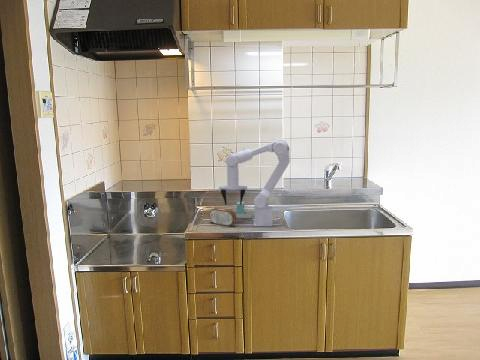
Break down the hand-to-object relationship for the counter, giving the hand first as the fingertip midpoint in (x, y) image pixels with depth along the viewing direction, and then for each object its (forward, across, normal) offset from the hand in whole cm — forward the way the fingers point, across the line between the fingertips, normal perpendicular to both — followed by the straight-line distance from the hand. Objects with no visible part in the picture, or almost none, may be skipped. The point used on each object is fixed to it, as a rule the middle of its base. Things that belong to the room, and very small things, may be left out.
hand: (233, 204), depth 201 cm
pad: (+10, -5, -10) cm, 15 cm away
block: (+10, -3, -19) cm, 22 cm away
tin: (+10, +6, +3) cm, 12 cm away
